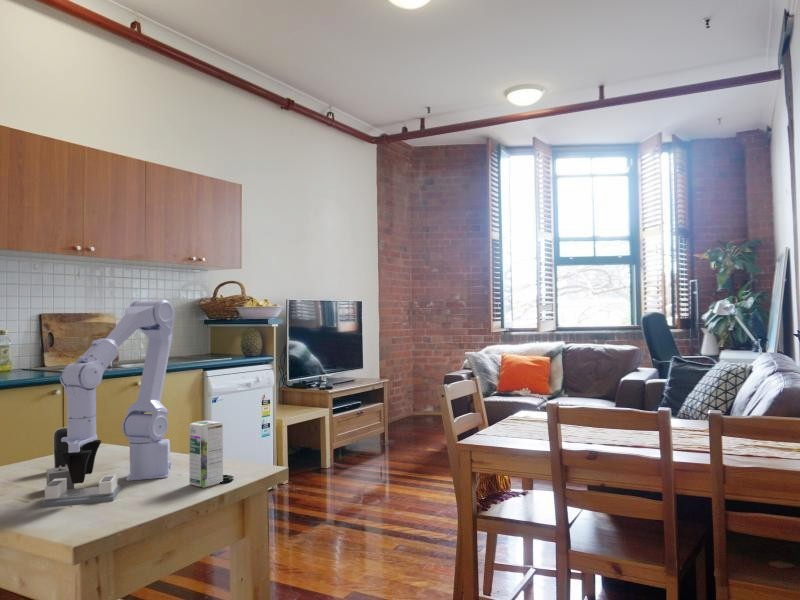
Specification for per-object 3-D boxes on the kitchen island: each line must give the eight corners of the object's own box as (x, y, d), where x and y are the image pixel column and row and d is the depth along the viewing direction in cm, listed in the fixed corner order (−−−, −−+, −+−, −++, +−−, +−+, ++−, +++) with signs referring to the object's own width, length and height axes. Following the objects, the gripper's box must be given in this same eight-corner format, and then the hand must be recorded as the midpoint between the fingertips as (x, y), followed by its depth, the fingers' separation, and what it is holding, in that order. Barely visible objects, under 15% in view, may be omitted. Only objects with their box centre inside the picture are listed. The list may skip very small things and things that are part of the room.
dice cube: (49, 496, 136) (49, 473, 136) (46, 490, 140) (46, 469, 140) (74, 491, 139) (74, 470, 139) (70, 486, 143) (70, 465, 143)
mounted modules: (117, 484, 138) (117, 472, 138) (111, 493, 131) (111, 481, 131) (54, 490, 135) (54, 478, 135) (44, 499, 128) (44, 486, 128)
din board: (120, 489, 139) (120, 483, 139) (113, 501, 130) (113, 494, 130) (53, 495, 135) (53, 489, 135) (40, 508, 127) (40, 501, 127)
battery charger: (56, 475, 153) (55, 430, 153) (52, 472, 156) (52, 428, 156) (86, 470, 157) (85, 426, 158) (82, 467, 160) (82, 424, 160)
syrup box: (188, 484, 142) (187, 423, 142) (209, 478, 147) (208, 419, 147) (203, 488, 139) (202, 425, 139) (224, 482, 143) (223, 421, 144)
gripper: (70, 412, 139) (70, 471, 139) (52, 423, 125) (52, 489, 125) (103, 410, 141) (104, 469, 141) (89, 421, 127) (90, 485, 127)
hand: (82, 478), depth 133 cm, fingers open, 7 cm apart
